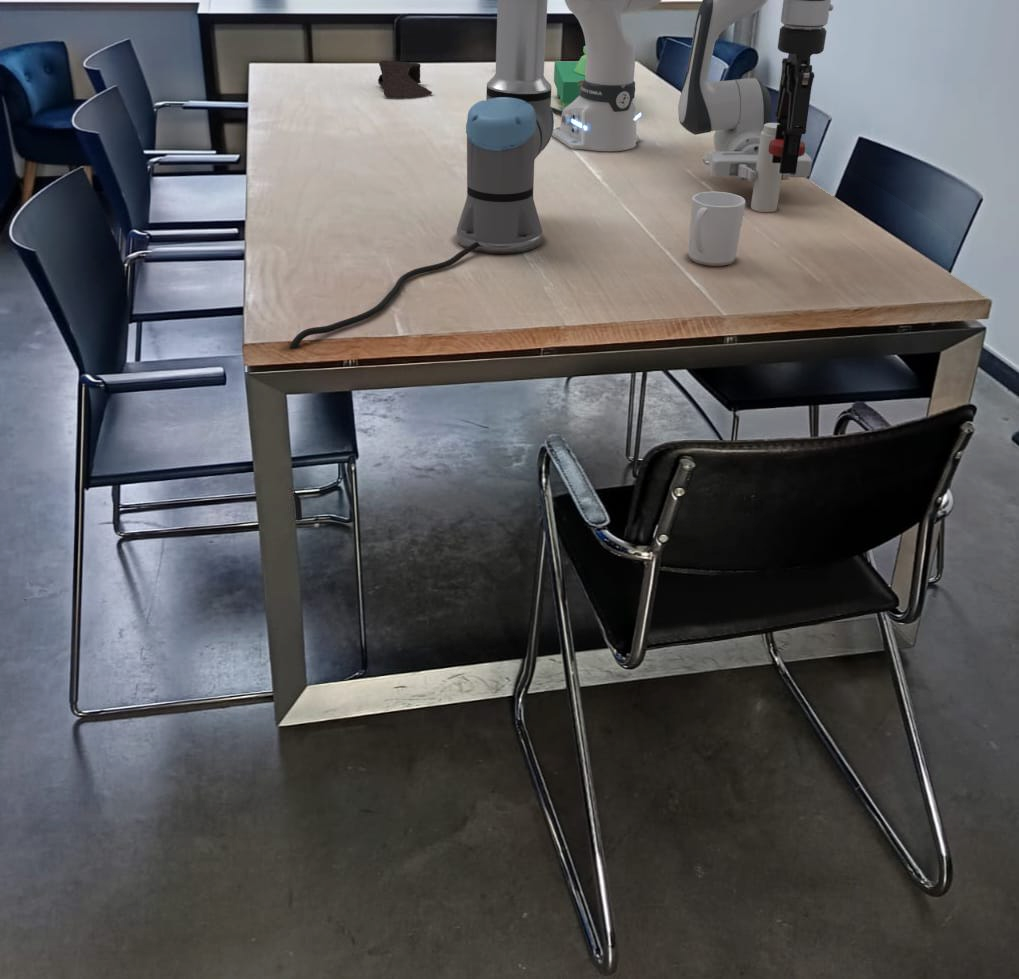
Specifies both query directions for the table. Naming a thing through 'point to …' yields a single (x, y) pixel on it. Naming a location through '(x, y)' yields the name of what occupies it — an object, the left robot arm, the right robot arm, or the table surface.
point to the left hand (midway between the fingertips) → (783, 167)
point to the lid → (777, 147)
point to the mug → (715, 227)
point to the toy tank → (569, 79)
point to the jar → (766, 174)
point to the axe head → (401, 79)
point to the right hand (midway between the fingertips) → (770, 175)
